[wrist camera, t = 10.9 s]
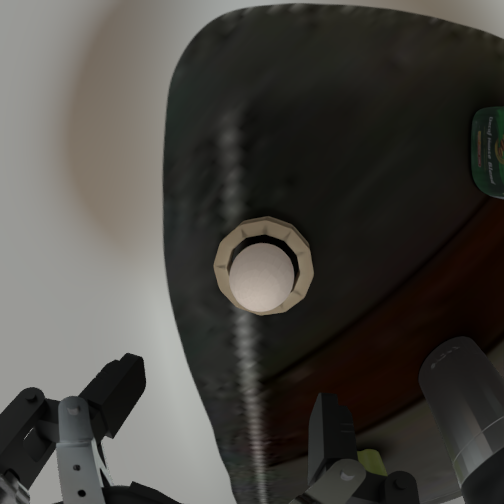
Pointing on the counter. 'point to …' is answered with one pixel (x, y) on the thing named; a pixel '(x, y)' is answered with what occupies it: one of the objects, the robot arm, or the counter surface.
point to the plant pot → (372, 461)
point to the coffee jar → (488, 150)
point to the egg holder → (275, 230)
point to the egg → (261, 277)
